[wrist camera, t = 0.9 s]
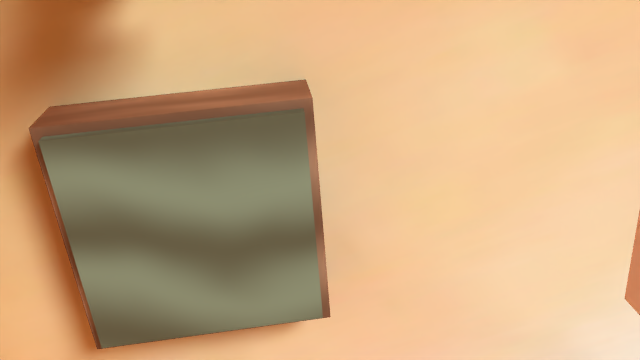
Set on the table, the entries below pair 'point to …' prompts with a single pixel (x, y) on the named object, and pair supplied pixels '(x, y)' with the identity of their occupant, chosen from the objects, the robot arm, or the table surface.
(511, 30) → the table surface
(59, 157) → the sage green square panel
